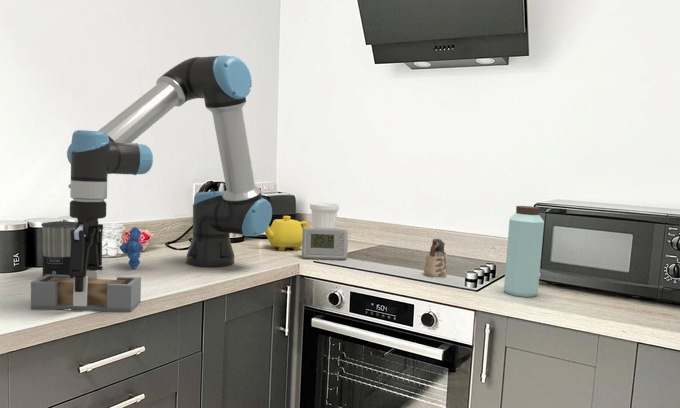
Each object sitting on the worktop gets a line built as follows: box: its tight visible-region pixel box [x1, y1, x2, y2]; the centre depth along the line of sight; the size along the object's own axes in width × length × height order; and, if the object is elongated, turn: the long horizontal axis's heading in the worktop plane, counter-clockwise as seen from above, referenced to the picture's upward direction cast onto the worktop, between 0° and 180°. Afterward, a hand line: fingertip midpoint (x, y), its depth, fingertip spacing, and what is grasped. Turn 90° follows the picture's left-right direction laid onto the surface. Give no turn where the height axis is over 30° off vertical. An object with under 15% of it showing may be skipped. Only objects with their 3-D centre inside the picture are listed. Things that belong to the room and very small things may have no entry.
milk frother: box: [40, 220, 77, 278], centre depth 157 cm, size 14×16×15 cm
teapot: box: [264, 215, 309, 252], centre depth 214 cm, size 13×20×12 cm
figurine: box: [423, 238, 448, 278], centre depth 181 cm, size 7×7×12 cm
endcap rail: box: [30, 274, 142, 313], centre depth 129 cm, size 21×8×6 cm, turn 95°
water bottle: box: [503, 205, 545, 298], centre depth 162 cm, size 10×10×25 cm
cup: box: [309, 202, 340, 228], centre depth 238 cm, size 12×12×15 cm
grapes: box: [119, 226, 144, 269], centre depth 170 cm, size 12×7×12 cm, turn 19°
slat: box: [46, 277, 125, 306], centre depth 129 cm, size 16×4×5 cm, turn 93°
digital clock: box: [301, 227, 349, 261], centre depth 200 cm, size 16×9×11 cm, turn 85°
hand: (85, 301), depth 128 cm, fingers open, 6 cm apart
